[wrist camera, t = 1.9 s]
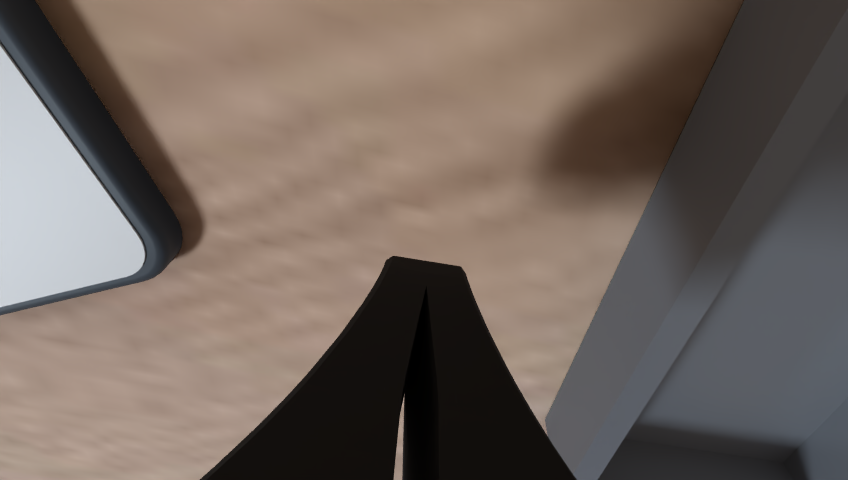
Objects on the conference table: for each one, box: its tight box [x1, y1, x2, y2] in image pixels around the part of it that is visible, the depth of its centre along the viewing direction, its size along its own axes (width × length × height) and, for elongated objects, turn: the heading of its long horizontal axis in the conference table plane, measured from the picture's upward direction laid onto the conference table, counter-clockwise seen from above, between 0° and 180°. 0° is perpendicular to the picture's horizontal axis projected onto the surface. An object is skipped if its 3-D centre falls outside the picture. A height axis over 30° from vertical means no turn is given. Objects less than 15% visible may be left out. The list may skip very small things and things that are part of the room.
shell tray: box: [545, 0, 848, 480], centre depth 11 cm, size 14×8×3 cm, turn 171°
